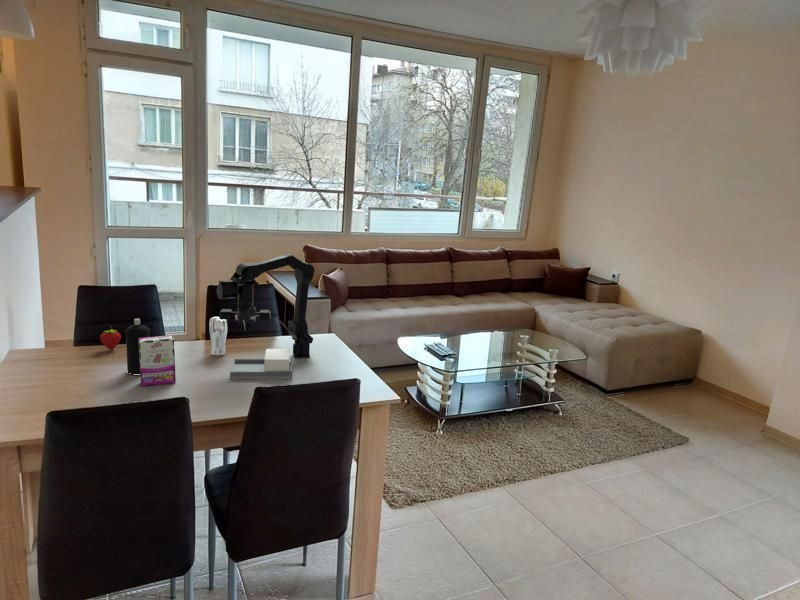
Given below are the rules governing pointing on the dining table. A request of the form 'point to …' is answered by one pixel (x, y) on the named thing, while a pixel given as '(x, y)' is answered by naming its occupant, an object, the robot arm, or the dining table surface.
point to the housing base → (257, 370)
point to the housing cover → (277, 360)
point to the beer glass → (218, 335)
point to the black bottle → (135, 345)
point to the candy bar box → (157, 360)
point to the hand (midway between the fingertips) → (245, 335)
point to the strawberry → (110, 338)
